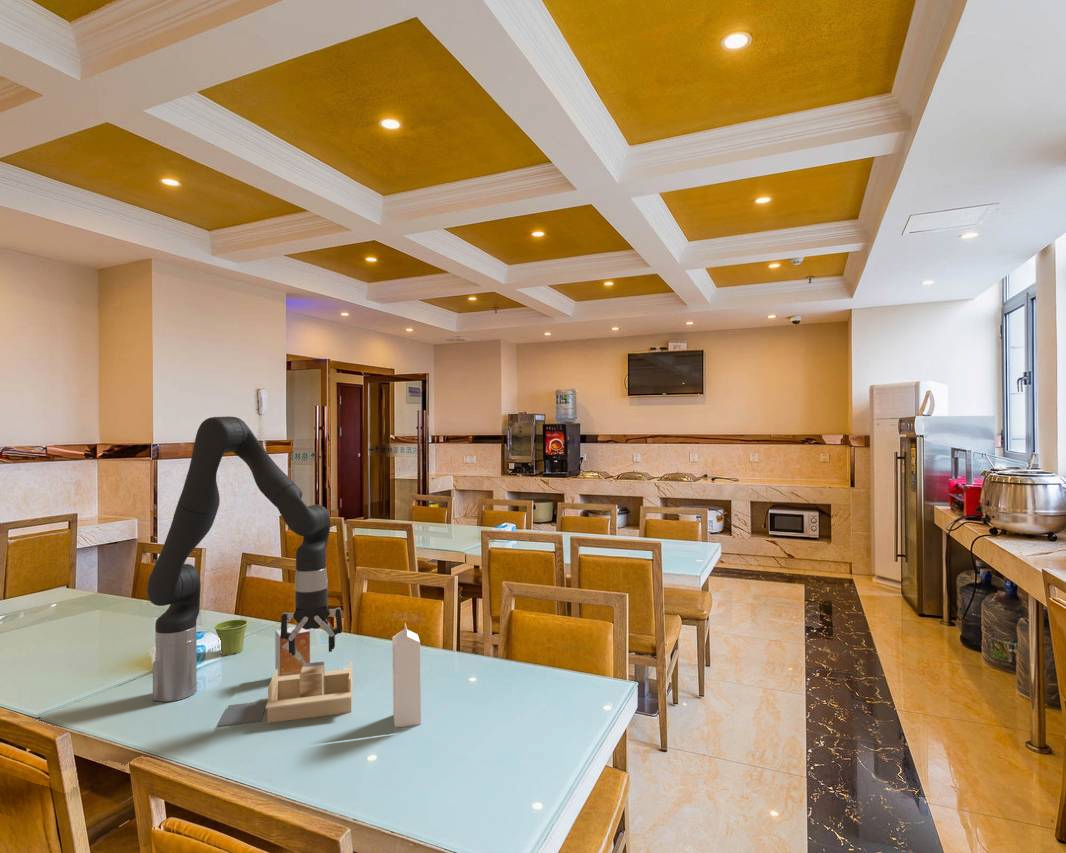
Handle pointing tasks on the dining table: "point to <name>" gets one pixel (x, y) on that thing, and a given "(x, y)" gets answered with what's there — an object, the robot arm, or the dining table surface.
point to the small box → (285, 659)
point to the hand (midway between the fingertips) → (312, 652)
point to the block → (312, 679)
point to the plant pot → (231, 635)
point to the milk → (406, 679)
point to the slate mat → (243, 713)
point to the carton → (290, 705)
